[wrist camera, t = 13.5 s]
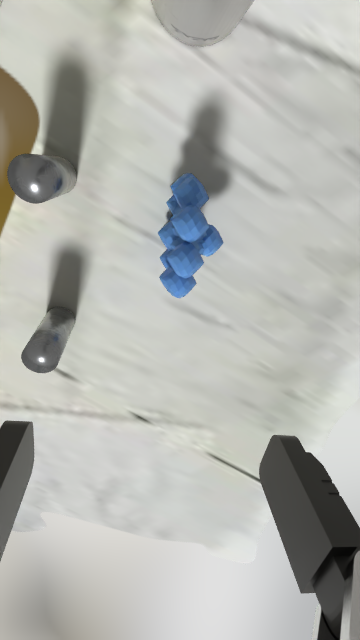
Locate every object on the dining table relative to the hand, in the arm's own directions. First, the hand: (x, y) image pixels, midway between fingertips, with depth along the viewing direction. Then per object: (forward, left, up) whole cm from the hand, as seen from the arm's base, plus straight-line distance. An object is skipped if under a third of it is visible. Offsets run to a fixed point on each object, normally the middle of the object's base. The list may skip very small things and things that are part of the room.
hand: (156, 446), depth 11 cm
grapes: (-2, +4, -30) cm, 30 cm away
